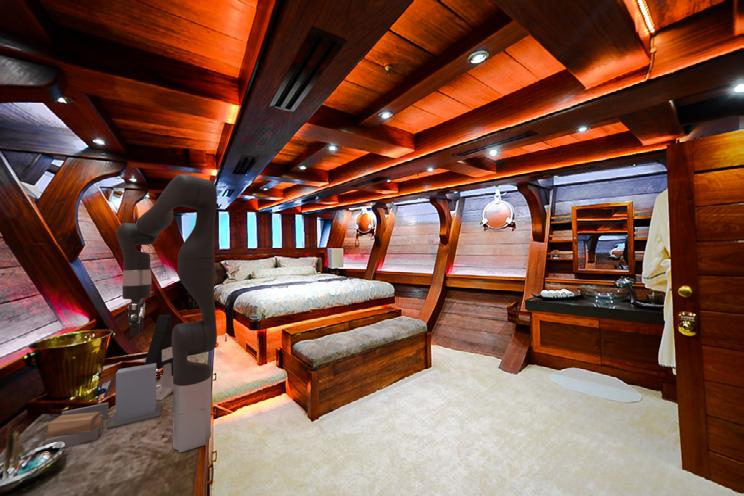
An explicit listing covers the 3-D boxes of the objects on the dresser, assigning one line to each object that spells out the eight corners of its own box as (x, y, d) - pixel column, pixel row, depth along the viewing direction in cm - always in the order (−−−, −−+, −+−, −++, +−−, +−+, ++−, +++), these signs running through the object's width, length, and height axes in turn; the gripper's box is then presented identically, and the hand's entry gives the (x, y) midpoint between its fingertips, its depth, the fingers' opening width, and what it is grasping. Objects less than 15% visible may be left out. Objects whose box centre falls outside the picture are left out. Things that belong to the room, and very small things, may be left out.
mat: (159, 416, 96) (159, 415, 96) (106, 429, 89) (106, 427, 89) (161, 404, 104) (162, 402, 104) (113, 415, 98) (113, 413, 98)
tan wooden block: (97, 439, 85) (97, 421, 85) (44, 452, 79) (44, 433, 79) (108, 417, 96) (108, 402, 96) (62, 428, 90) (62, 411, 90)
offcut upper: (90, 431, 83) (90, 419, 83) (48, 436, 81) (48, 423, 81) (100, 423, 87) (100, 411, 87) (60, 427, 85) (60, 415, 85)
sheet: (154, 412, 98) (155, 366, 98) (115, 421, 92) (115, 373, 93) (156, 407, 101) (156, 363, 102) (118, 415, 96) (118, 369, 96)
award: (154, 403, 105) (154, 318, 106) (142, 402, 106) (142, 318, 107) (188, 385, 120) (189, 311, 121) (178, 384, 121) (178, 310, 122)
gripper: (148, 284, 94) (148, 335, 93) (153, 281, 106) (153, 327, 106) (118, 286, 90) (117, 339, 89) (126, 282, 102) (126, 330, 102)
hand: (136, 332), depth 98 cm, fingers open, 8 cm apart
